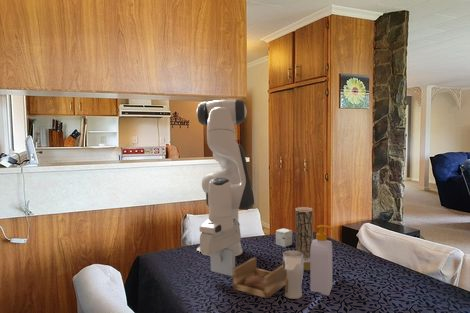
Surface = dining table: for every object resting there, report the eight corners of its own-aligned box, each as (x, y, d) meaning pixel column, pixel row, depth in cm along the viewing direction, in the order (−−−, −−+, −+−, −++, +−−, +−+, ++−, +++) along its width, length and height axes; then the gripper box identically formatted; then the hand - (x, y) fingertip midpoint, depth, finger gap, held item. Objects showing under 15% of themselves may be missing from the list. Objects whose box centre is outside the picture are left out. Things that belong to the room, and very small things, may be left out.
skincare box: (275, 244, 174) (275, 230, 173) (283, 242, 178) (283, 227, 177) (285, 247, 169) (284, 232, 169) (292, 244, 173) (292, 230, 173)
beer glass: (281, 293, 119) (280, 250, 119) (300, 292, 120) (300, 249, 119) (285, 302, 112) (285, 257, 112) (306, 301, 113) (306, 256, 112)
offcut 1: (245, 283, 122) (245, 279, 122) (250, 279, 125) (250, 275, 125) (266, 288, 118) (266, 283, 117) (271, 284, 121) (271, 279, 121)
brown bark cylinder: (313, 273, 136) (312, 210, 135) (295, 272, 138) (295, 210, 136) (313, 266, 143) (312, 207, 142) (296, 265, 144) (295, 206, 143)
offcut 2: (243, 287, 123) (243, 282, 123) (249, 283, 126) (249, 278, 126) (265, 293, 118) (265, 288, 117) (271, 288, 121) (271, 284, 121)
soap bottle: (331, 296, 116) (330, 229, 115) (310, 293, 119) (309, 228, 118) (334, 286, 124) (334, 223, 123) (315, 283, 127) (314, 221, 126)
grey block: (210, 271, 128) (210, 247, 128) (213, 269, 130) (213, 245, 129) (232, 276, 123) (231, 251, 122) (235, 274, 124) (234, 250, 124)
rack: (233, 291, 122) (232, 269, 121) (254, 277, 133) (253, 257, 133) (267, 301, 114) (267, 277, 113) (286, 286, 125) (286, 264, 125)
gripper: (230, 216, 136) (231, 251, 136) (196, 228, 119) (197, 267, 120) (244, 218, 132) (245, 253, 133) (210, 230, 115) (211, 271, 116)
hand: (222, 260), depth 126 cm, fingers closed on grey block, 2 cm apart
